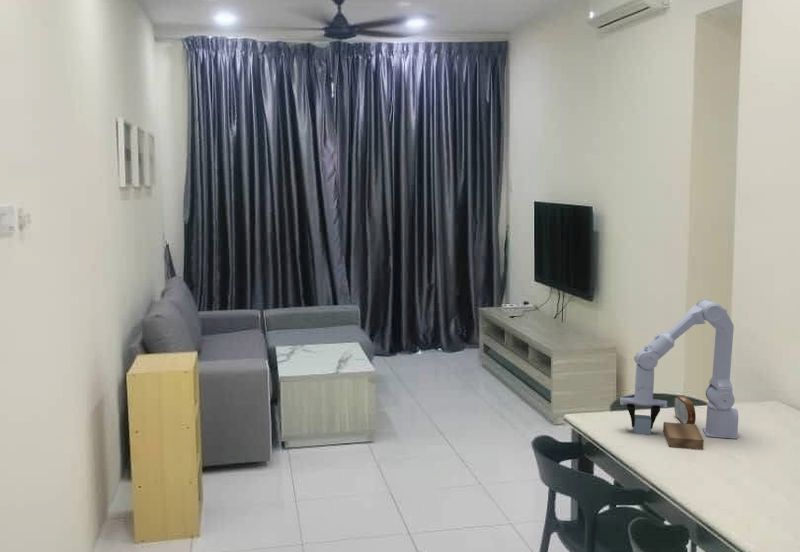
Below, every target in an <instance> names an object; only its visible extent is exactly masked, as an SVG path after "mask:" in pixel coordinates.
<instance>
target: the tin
mask: <svg viewBox="0 0 800 552" xmlns="http://www.w3.org/2000/svg"><path fill="white" fill-rule="evenodd" d="M695 409H696V408H695V405H694V403H693V401H691V400H690V399H689V398H688V397H687V396H686V395H684V394H682V395H675V397H674V410H673V411H674V414H675V417H676V418H677V420H678V421H680V422H681V423H683V424H696V419H697V418H696V410H695Z"/></svg>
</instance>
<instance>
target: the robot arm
mask: <svg viewBox="0 0 800 552" xmlns="http://www.w3.org/2000/svg"><path fill="white" fill-rule="evenodd" d="M706 322H708V323H709V324H710V325H711V327H713V328H714V329H715V336H714V337H715V338H714V350H713V363H712V364H713V365H712V376H711V377H710V379H709V382H708V386H707V387H706V389H705V397H706V399H707V400H708V403H707V406H706V420H705V427H702V431H703V432H704V434H705V436H706V437H708V438H709V437H710V438H723V439H724V438H725V439H734V440H735V439H737V440H738V432H739V411H738V409H737V408H733V406H734V404H735V401H736V399H735V396H734V394H733V386H732V383H731V380H730V379H731V364H732V353H733V342H734V341H733V340H734V329H735V328H734V326H735V325H734V323H733V321H732V320H731V318H730V316H729V314H728V310H727V309H726V308H724V307H723V306H722V305H721V304H719V303H717V302H714V301H712V300H710V299H708V298H704V299H701V300H699V301H698V302H697V303H695V304H694V305H692V306H691V307H690V308H689V310H688V311H687V312H686V313H685V314H684V315H683V316H682V317H681V318H680V319H679V320H678V321H677V322H676V323H675V324H674V325H673V326H672V327H671V328H670V330H668V331H667V332H661V333H660V334H656V335H655V336H654V339H653V340H652V341H650V342H649V343H648V344H647V345H644V346H643V348H642V349H639V350H638V351H637V352H636V353H635V356H634V357H633V359H634V362H635V363H636V366H635V367H636V368H635V378H634V379H635V380H634V381H635V383H634V397H619V398H620V399H619V404H620V405H621V406H624V405H626V409H627V410H628V413H629V416H630V421H631V427H632V428H633V427H634V425H635V421H634V417H635V415H636V406H641V407H650V418H651V430H653V427H654V424H655V422H656V419H657V416H658V415H659V414H660V411H661V408H664V409H667V408H668V401H667V400H662V399H657V398H654V387H655V386H654V383H655V382H654V381H655V368H657V366H658V362H659V360H660V359H661V358H662V357H665V355H666V354H667V353H668V352H669V351H670V350H672V349H673V348H674V347H675V342H676V340H677V339H679V337H681V336H682V335H683V334H684V333H686V332H687V331H688V330H690V328H693V326H694V325H705V324H706Z"/></svg>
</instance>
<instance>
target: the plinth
mask: <svg viewBox="0 0 800 552" xmlns="http://www.w3.org/2000/svg"><path fill="white" fill-rule="evenodd" d="M662 432H663V434H664V438H665V440H666V443H667V445H668V447H669V448H676V449H677V448H678V449H679V448H680V449H689V448H691V449H690V450H702V449H703V450H704V438H703V436H702V434H701V432H700V430H699V428H698V426H697V424H696V423H695V424H683V423H682V422H681V423H680V422H668V421H667V422H666V421H664V422H663V429H662Z"/></svg>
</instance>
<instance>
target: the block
mask: <svg viewBox="0 0 800 552" xmlns="http://www.w3.org/2000/svg"><path fill="white" fill-rule="evenodd" d="M650 417H651V415H647V414H645V415H644V414H635V417H634V421H635V425H634V427H632V428H633V429H632V430H633V434H634V435H642V434H643V435H644V436H651V435H652V433H651V432H652V431H651V430H652V429H651V418H650Z"/></svg>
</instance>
